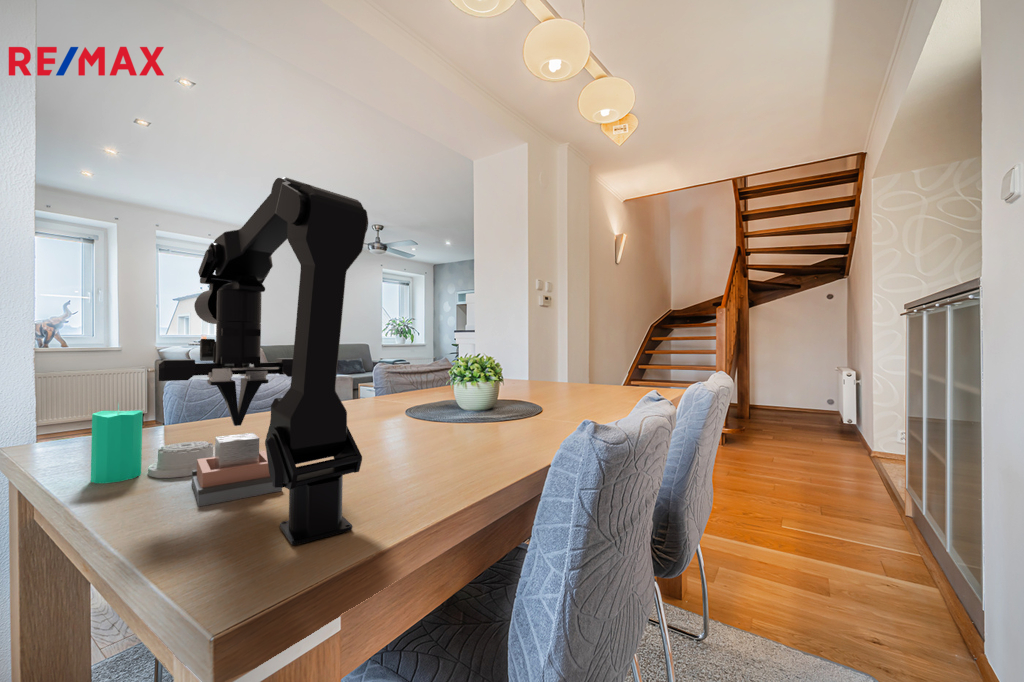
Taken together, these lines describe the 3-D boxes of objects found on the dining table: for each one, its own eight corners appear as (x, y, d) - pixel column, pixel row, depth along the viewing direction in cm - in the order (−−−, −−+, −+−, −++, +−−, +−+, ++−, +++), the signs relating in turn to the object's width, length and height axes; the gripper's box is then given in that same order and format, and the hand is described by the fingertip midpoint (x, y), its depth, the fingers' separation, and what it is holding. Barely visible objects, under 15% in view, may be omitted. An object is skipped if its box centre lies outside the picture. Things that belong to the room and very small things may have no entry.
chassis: (281, 490, 63) (282, 463, 63) (198, 506, 57) (199, 476, 57) (265, 471, 72) (265, 448, 72) (191, 483, 66) (192, 457, 66)
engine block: (258, 478, 64) (259, 438, 64) (218, 484, 61) (219, 442, 61) (252, 470, 68) (253, 432, 68) (214, 476, 65) (215, 436, 65)
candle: (79, 482, 66) (81, 404, 66) (121, 470, 72) (123, 399, 72) (111, 484, 65) (113, 405, 65) (151, 473, 71) (152, 400, 71)
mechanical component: (130, 479, 68) (190, 480, 68) (131, 451, 68) (191, 453, 68) (181, 462, 78) (234, 463, 78) (182, 438, 78) (234, 439, 78)
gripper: (292, 326, 77) (291, 413, 77) (158, 321, 65) (156, 424, 65) (310, 324, 68) (308, 421, 68) (159, 318, 56) (157, 437, 56)
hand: (237, 425), depth 64 cm, fingers closed
